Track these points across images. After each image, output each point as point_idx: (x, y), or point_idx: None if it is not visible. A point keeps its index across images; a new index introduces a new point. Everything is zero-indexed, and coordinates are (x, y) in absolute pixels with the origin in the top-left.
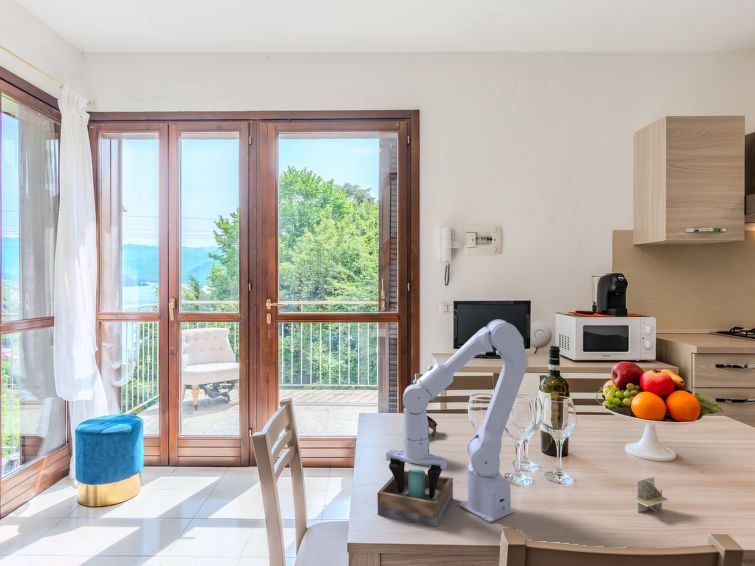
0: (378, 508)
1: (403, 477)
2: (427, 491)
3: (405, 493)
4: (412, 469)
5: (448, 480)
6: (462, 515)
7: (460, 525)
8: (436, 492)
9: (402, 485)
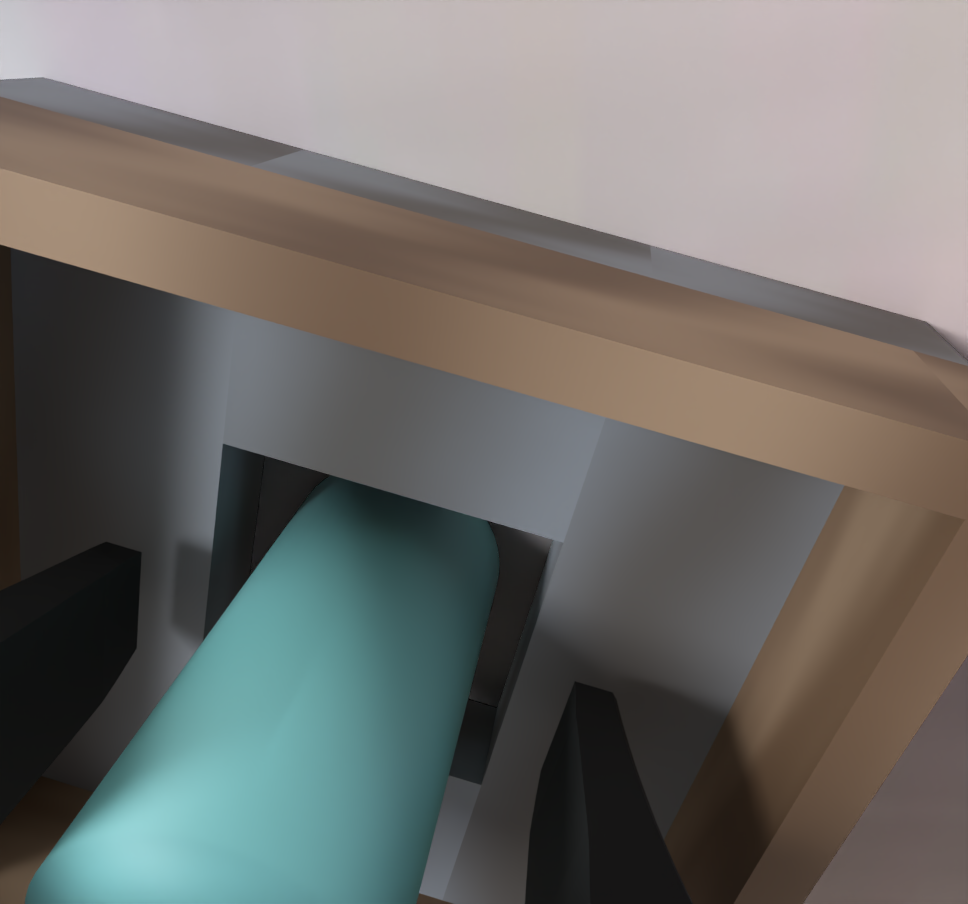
0: None
1: (10, 661)
2: (502, 442)
3: (190, 521)
4: (75, 854)
5: (939, 595)
6: (954, 732)
7: (879, 887)
8: (652, 467)
9: (87, 650)
